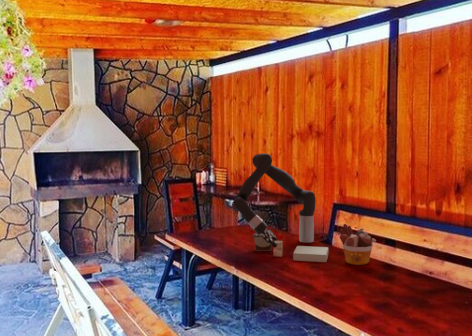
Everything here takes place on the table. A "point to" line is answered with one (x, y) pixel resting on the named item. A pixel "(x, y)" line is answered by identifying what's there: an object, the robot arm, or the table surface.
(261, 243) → the food container
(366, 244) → the bucket of meat
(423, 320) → the table surface
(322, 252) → the base board
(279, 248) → the birch block
